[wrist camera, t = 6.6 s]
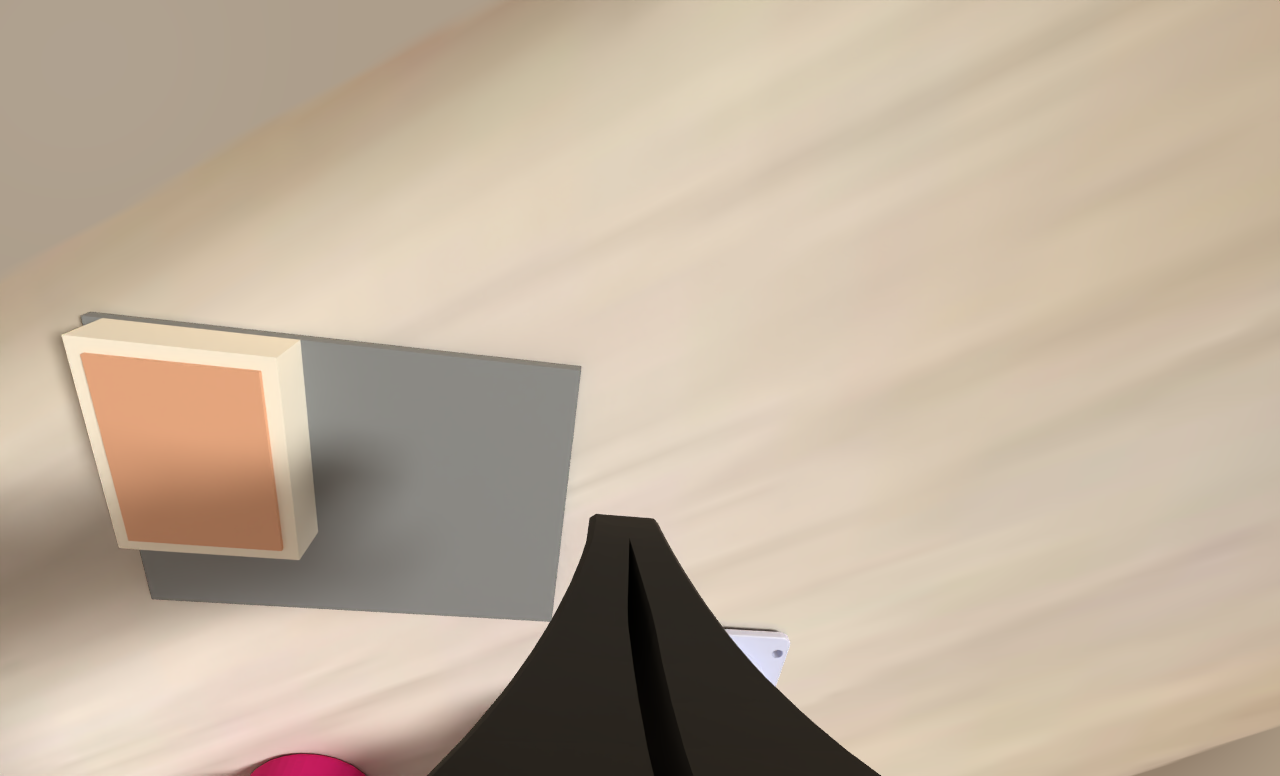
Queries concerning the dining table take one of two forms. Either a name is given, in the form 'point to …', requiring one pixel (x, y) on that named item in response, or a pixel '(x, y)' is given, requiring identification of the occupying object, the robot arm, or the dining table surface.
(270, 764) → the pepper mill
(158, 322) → the mat
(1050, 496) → the dining table surface
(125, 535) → the block
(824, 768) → the robot arm
